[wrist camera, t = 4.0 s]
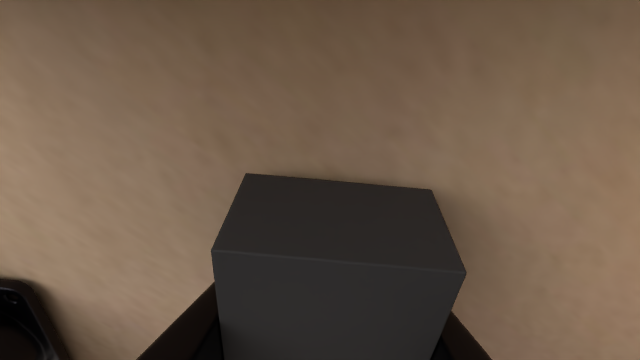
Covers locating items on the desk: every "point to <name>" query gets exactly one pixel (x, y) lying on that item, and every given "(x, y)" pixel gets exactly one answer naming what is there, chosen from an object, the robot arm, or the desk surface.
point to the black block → (333, 271)
